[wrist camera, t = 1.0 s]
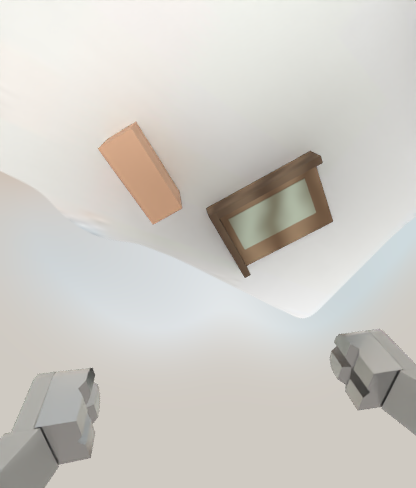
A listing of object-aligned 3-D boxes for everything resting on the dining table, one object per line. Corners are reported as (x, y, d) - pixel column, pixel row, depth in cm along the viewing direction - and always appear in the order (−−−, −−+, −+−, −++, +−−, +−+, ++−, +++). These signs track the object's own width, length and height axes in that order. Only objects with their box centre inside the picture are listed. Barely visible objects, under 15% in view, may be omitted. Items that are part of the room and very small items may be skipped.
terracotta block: (136, 121, 33) (131, 128, 28) (179, 191, 38) (182, 208, 33) (107, 138, 33) (97, 148, 28) (154, 205, 38) (153, 224, 33)
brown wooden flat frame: (310, 151, 38) (320, 155, 35) (331, 220, 44) (342, 228, 41) (206, 208, 40) (209, 216, 37) (240, 267, 45) (244, 277, 43)
